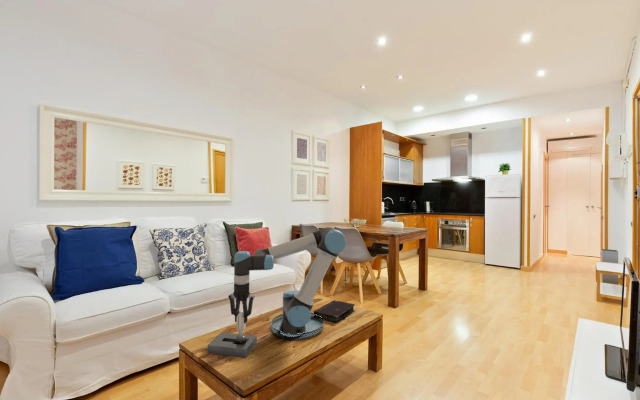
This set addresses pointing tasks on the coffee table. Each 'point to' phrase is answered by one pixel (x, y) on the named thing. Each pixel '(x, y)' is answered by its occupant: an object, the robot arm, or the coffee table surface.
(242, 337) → the peg
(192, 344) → the coffee table surface
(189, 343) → the coffee table surface
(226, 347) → the keyhole plate
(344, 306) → the diary
